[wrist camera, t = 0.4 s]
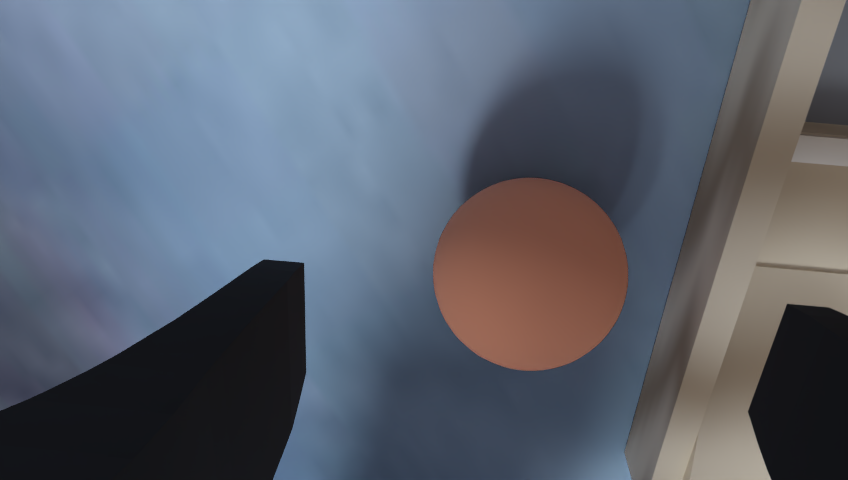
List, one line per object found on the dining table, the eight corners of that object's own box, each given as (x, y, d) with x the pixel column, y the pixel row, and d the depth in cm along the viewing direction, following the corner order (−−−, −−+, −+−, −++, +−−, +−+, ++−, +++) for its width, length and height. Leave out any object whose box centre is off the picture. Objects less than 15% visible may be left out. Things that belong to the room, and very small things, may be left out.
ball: (591, 309, 21) (624, 421, 17) (431, 294, 21) (421, 402, 17) (624, 158, 19) (673, 241, 14) (444, 142, 19) (436, 220, 14)
